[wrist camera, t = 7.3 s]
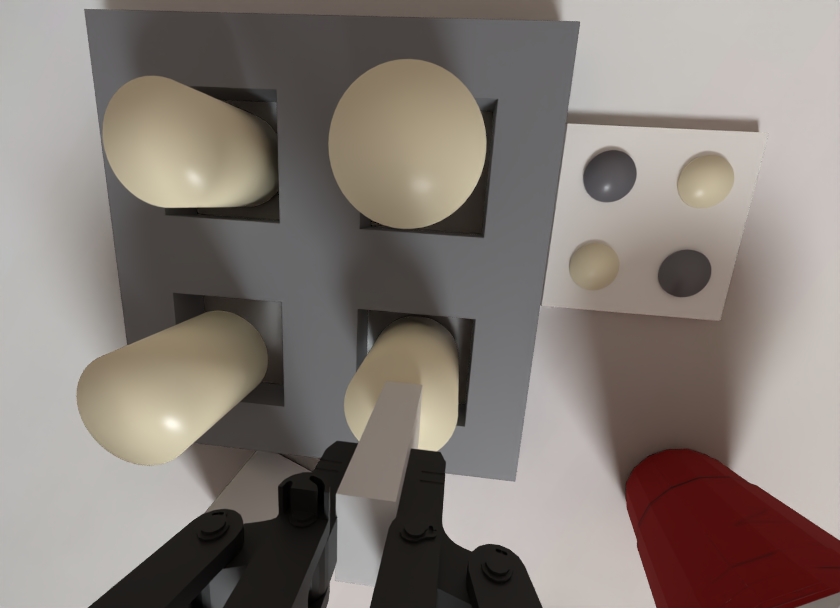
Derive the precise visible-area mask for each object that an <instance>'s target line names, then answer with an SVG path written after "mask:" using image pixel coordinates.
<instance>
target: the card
mask: <svg viewBox="0 0 840 608" xmlns="http://www.w3.org/2000/svg"><path fill="white" fill-rule="evenodd" d="M768 135H769V133H762V132H740V131H719V130H697V129H675V128H653V127H632V126H610V125H588V124H566V126H565V133H564V140H563V147H562V154H561V161H560V168H559V175H558V182H557V190H556V197H555V204H554V211H553V218H552V225H551V232H550V239H549V246H548V253H547V260H546V267H545V274H544V281H543V288H542V296H541V303H540V305H541V306H547V307H559V308H571V309H583V310H595V311H607V312H619V313H631V314H643V315H655V316H667V317H679V318H691V319H703V320H715V321H720V319H721V316H722V312H723V308H724V304H725V300H726V296H727V293H728V289H729V285H730V281H731V277H732V273H733V270H734V266H735V262H736V258H737V254H738V250H739V246H740V243H741V239H742V235H743V231H744V227H745V223H746V220H747V216H748V212H749V208H750V204H751V200H752V197H753V193H754V189H755V185H756V181H757V177H758V174H759V170H760V166H761V162H762V158H763V154H764V150H765V147H766V143H767V139H768Z"/></svg>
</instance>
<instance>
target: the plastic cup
mask: <svg viewBox="0 0 840 608" xmlns="http://www.w3.org/2000/svg"><path fill="white" fill-rule="evenodd" d="M626 501H627V510H628V514H629V517H630V520H631V523H632V526H633V529H634V532H635V535H636V539H637V548H638V551H639V554H640V558H641V561H642V564H643V567H644V570H645V573H646V576H647V579H648V582H649V586H650V589H651V592H652V595H653V598H654V601H655V604H656V607H657V608H840V540H838V539H837V538H835V537H833V536H832V535H830V534H829V533H827V532H826V531H824V530H823V529H821V528H820V527H818V526H817V525H815V524H814V523H812V522H811V521H809V520H808V519H806V518H805V517H803V516H802V515H800V514H799V513H797V512H796V511H794V510H793V509H791V508H790V507H788V506H787V505H785V504H784V503H782V502H781V501H779V500H778V499H776V498H775V497H773V496H772V495H770V494H769V493H767V492H766V491H764V490H763V489H761V488H760V487H758V486H757V485H754V484H751V483H749V482H747V481H746V480H745V479H743V478H742V477H740V476H739V475H737V474H736V473H735V472H733V471H732V470H730V469H729V468H728V467H726V466H725V465H723V464H722V463H720V462H719V461H718V460H716V459H713V458H710V457H709V456H707V455H705V454H702V453H699V452H696V451H693V450H690V449H667V450H664V451H662V452H659V453H656V454H653V455H651V456H648V457H647V458H646V459H645V460H643V461H642V462H641V463H640V464H639V465H637V466H636V467H635V468H634V469H633V471H632V473H631V475H630V477H629V479H628V481H627V483H626Z"/></svg>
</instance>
